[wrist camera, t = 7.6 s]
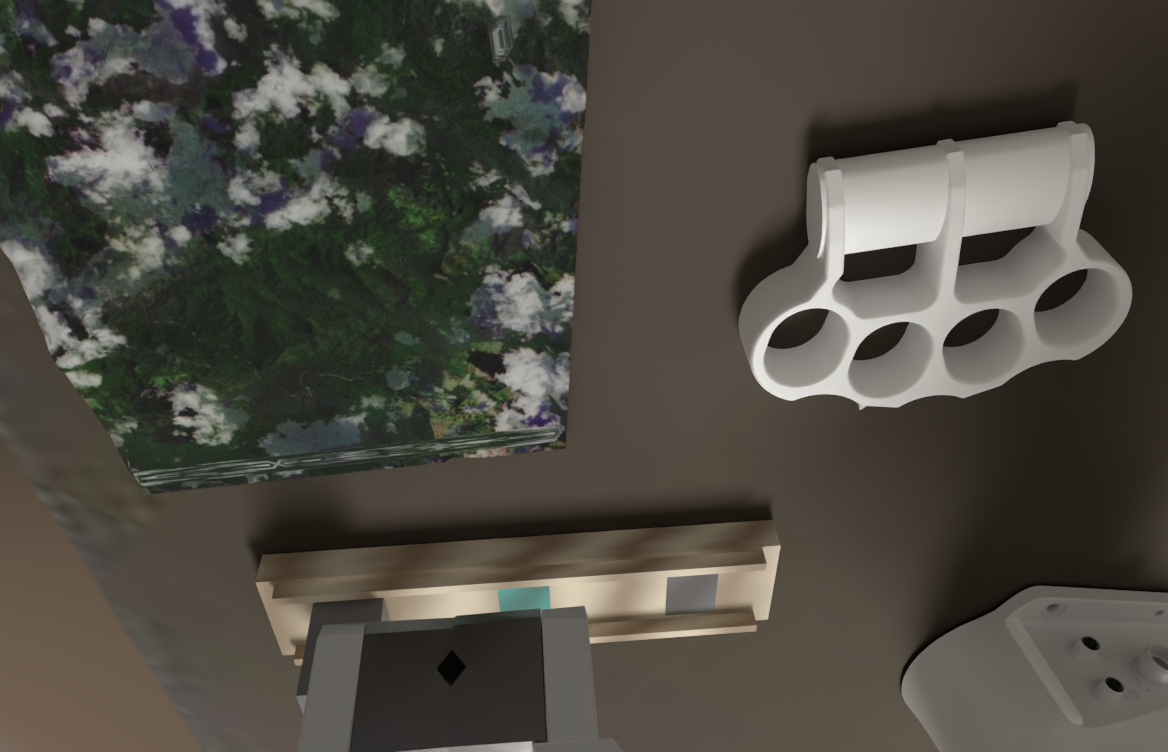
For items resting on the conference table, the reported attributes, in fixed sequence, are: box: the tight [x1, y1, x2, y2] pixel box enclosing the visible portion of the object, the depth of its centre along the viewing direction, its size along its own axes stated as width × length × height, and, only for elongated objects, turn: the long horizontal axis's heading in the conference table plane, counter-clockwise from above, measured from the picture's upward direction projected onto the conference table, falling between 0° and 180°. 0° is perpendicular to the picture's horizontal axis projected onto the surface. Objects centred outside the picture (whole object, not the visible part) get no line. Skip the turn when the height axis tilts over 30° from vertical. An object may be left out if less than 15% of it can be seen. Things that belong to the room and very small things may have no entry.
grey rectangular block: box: [296, 598, 389, 715], centre depth 53 cm, size 4×4×6 cm
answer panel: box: [256, 520, 781, 665], centre depth 56 cm, size 30×7×3 cm, turn 91°
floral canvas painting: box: [0, 0, 593, 495], centre depth 39 cm, size 26×33×3 cm
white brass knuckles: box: [739, 121, 1132, 410], centre depth 45 cm, size 3×18×15 cm
